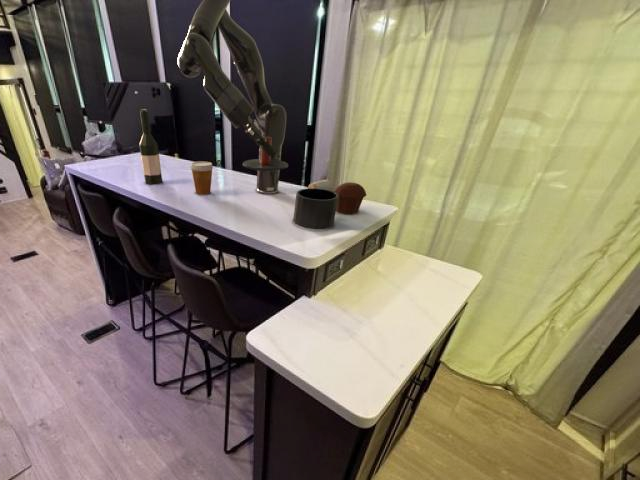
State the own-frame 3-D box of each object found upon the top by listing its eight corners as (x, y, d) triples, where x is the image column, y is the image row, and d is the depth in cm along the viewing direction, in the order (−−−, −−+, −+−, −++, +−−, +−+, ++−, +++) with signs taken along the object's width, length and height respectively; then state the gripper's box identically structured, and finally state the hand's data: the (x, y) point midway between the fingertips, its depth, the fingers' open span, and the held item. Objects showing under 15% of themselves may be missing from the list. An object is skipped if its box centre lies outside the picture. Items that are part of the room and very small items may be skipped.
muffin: (328, 212, 117) (333, 185, 111) (332, 204, 125) (337, 178, 119) (361, 217, 113) (368, 189, 107) (363, 208, 122) (369, 181, 116)
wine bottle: (160, 184, 146) (150, 110, 128) (142, 184, 146) (130, 110, 128) (164, 180, 152) (155, 109, 135) (147, 180, 152) (136, 108, 135)
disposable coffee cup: (211, 189, 141) (209, 160, 134) (216, 195, 133) (215, 165, 127) (190, 190, 138) (188, 161, 131) (194, 196, 131) (192, 166, 124)
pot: (285, 219, 110) (288, 191, 104) (316, 214, 115) (320, 186, 110) (309, 233, 100) (314, 202, 95) (341, 226, 105) (347, 197, 100)
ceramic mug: (304, 198, 131) (307, 179, 126) (320, 196, 134) (323, 177, 129) (320, 206, 123) (323, 186, 119) (336, 203, 126) (340, 184, 122)
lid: (235, 164, 103) (235, 135, 98) (272, 161, 109) (274, 133, 104) (257, 174, 92) (258, 142, 87) (296, 169, 98) (300, 139, 93)
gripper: (229, 114, 99) (265, 157, 105) (221, 118, 88) (262, 166, 94) (246, 95, 96) (282, 140, 102) (240, 96, 84) (281, 147, 90)
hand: (272, 152), depth 98 cm, fingers closed on lid, 3 cm apart
